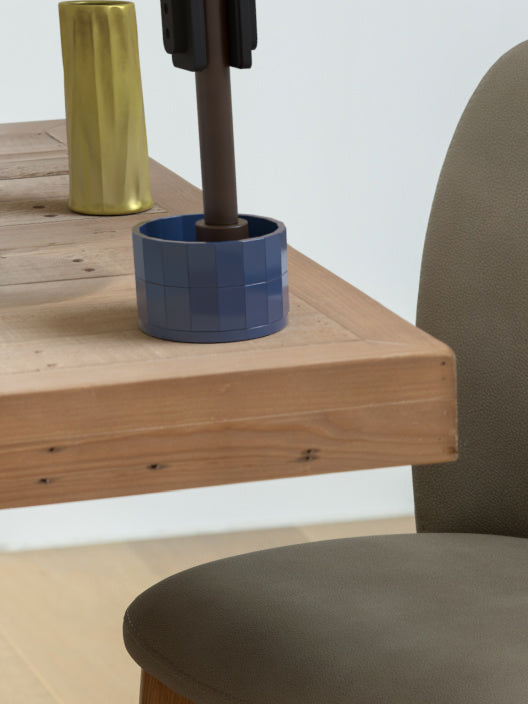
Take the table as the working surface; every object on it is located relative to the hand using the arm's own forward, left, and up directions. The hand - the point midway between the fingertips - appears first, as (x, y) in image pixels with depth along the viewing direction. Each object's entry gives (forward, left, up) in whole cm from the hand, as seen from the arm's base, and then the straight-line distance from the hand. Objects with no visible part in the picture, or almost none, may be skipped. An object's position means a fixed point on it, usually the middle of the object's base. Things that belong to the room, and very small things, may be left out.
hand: (212, 65), depth 80 cm
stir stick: (0, 0, -10) cm, 10 cm away
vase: (+25, +21, -14) cm, 36 cm away
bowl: (-1, 0, -13) cm, 13 cm away
